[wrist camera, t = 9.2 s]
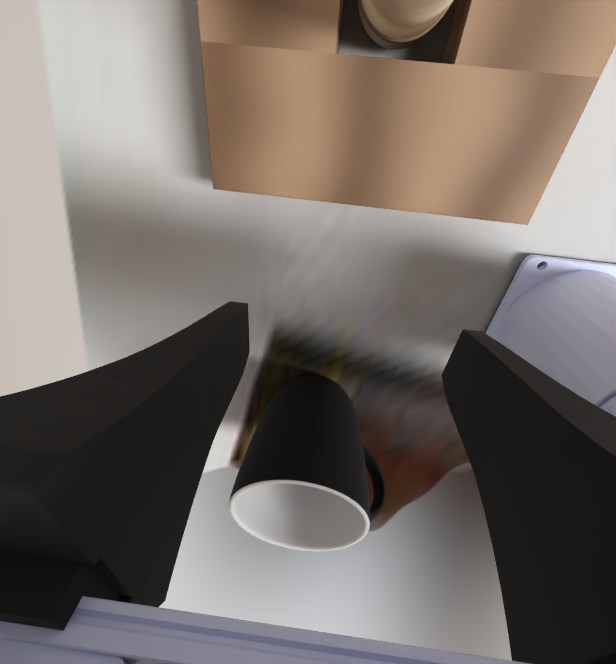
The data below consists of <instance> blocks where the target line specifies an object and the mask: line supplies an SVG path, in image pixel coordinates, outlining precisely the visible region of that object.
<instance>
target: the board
mask: <svg viewBox="0 0 616 664" xmlns="http://www.w3.org/2000/svg"><path fill="white" fill-rule="evenodd" d="M343 2H344V0H197V5H198V17H199V29H200V40H201V52H202V63H203V75H204V86H205V98H206V110H207V121H208V133H209V144H210V156H211V167H212V179H213V189H218V190H227V191H236V192H244V193H253V194H262V195H271V196H279V197H288V198H297V199H306V200H315V201H323V202H332V203H341V204H350V205H358V206H367V207H376V208H385V209H393V210H402V211H411V212H420V213H428V214H437V215H446V216H455V217H464V218H472V219H481V220H490V221H499V222H507V223H516V224H525V225H528V223H529V221H530V219H531V217H532V215H533V213H534V211H535V209H536V207H537V205H538V203H539V201H540V199H541V197H542V194H543V192H544V190H545V188H546V186H547V184H548V182H549V180H550V178H551V176H552V174H553V172H554V170H555V168H556V166H557V164H558V162H559V160H560V158H561V156H562V154H563V152H564V150H565V147H566V145H567V143H568V141H569V139H570V137H571V135H572V133H573V131H574V129H575V127H576V125H577V123H578V121H579V119H580V117H581V115H582V113H583V111H584V109H585V107H586V105H587V103H588V100H589V98H590V96H591V94H592V92H593V90H594V88H595V86H596V84H597V82H598V80H599V78H600V76H601V74H602V72H603V70H604V68H605V66H606V64H607V62H608V60H609V58H610V55H611V53H612V51H613V49H614V47H615V45H616V0H458V1H457V5H456V8H455V12H454V16H453V20H452V24H451V28H450V32H449V36H448V40H447V44H446V48H445V52H444V56H443V60H442V63H433V62H422V61H411V60H400V59H389V58H379V57H368V56H357V55H346V54H338V49H339V40H340V30H341V21H342V11H343Z"/></svg>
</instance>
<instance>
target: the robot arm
mask: <svg viewBox="0 0 616 664" xmlns="http://www.w3.org/2000/svg"><path fill="white" fill-rule="evenodd" d="M541 262H544V263H543V265H542V266H540V267H537V265H538V264H539V263H541ZM248 355H249V322H248V304H246V303H238V302H228V303H226V304H225V305H223V306H221V307H220V308H218V309H216V310H215V311H213V312H211V313H210V314H208V315H207V316H205V317H203V318H202V319H200V320H198V321H197V322H195V323H193V324H192V325H190V326H188V327H187V328H185V329H183V330H181V331H179V332H177V333H176V334H174V335H172V336H170V337H168V338H166V339H165V340H163V341H161V342H159V343H157V344H155V345H153V346H151V347H148V348H146V349H144V350H142V351H140V352H137V353H135V354H133V355H130V356H128V357H126V358H123V359H121V360H118V361H115V362H113V363H110V364H107V365H104V366H102V367H99V368H96V369H93V370H91V371H88V372H85V373H82V374H79V375H76V376H73V377H70V378H67V379H64V380H60V381H57V382H54V383H50V384H47V385H43V386H39V387H36V388H33V389H29V390H25V391H21V392H17V393H14V394H9V395H5V396H1V397H0V664H616V264H610V263H601V262H593V261H585V260H576V259H568V258H559V257H551V256H542V255H530V256H527V257H526V258H525V259H524V260H523V261H522V263H521V265H520V267H519V269H518V271H517V273H516V275H515V276H514V278H513V280H512V282H511V284H510V286H509V288H508V290H507V292H506V294H505V296H504V298H503V300H502V302H501V304H500V306H499V308H498V310H497V311H496V313H495V315H494V317H493V319H492V321H491V323H490V325H489V327H488V329H487V331H486V333H483V332H479V331H471V330H462V332H461V334H460V337H459V339H458V341H457V343H456V345H455V347H454V350H453V352H452V354H451V356H450V358H449V360H448V363H447V365H446V367H445V369H444V371H443V373H442V380H443V385H444V390H445V395H446V399H447V403H448V405H449V408H450V411H451V413H452V416H453V419H454V421H455V424H456V427H457V429H458V432H459V434H460V437H461V440H462V442H463V445H464V447H465V450H466V453H467V455H468V458H469V460H470V463H471V466H472V469H473V472H474V475H475V478H476V481H477V485H478V489H479V493H480V496H481V500H482V504H483V507H484V511H485V516H486V520H487V524H488V528H489V533H490V537H491V541H492V545H493V551H494V555H495V561H496V566H497V571H498V575H499V581H500V585H501V590H502V597H503V603H504V610H505V615H506V621H507V628H508V634H509V641H510V649H511V656H512V661H510V660H503V659H497V658H491V657H483V656H477V655H470V654H464V653H457V652H450V651H444V650H437V649H431V648H424V647H417V646H410V645H404V644H398V643H390V642H384V641H377V640H371V639H364V638H357V637H351V636H344V635H338V634H331V633H325V632H318V631H311V630H305V629H298V628H291V627H284V626H277V625H271V624H265V623H258V622H251V621H244V620H238V619H231V618H225V617H218V616H211V615H205V614H198V613H191V612H185V611H179V610H172V609H165V608H159V606H160V605H161V604H162V603H163V602H164V601H165V599H166V595H167V591H168V587H169V584H170V580H171V576H172V573H173V569H174V565H175V562H176V558H177V555H178V551H179V547H180V544H181V540H182V537H183V533H184V530H185V527H186V524H187V520H188V517H189V513H190V509H191V507H192V503H193V500H194V497H195V494H196V491H197V488H198V484H199V481H200V478H201V475H202V472H203V469H204V466H205V463H206V460H207V457H208V454H209V451H210V448H211V445H212V442H213V440H214V438H215V435H216V433H217V430H218V428H219V426H220V424H221V421H222V419H223V417H224V415H225V413H226V410H227V408H228V406H229V404H230V402H231V400H232V397H233V395H234V393H235V391H236V389H237V386H238V384H239V382H240V380H241V377H242V375H243V372H244V368H245V365H246V362H247V358H248Z"/></svg>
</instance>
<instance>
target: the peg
mask: <svg viewBox="0 0 616 664" xmlns="http://www.w3.org/2000/svg"><path fill="white" fill-rule="evenodd" d="M453 1H454V0H358V8H359V14H360V18H361V21H362V24H363V26H364V28H365V30H366V32H367V34H368V35H369V36H370V38H371V39H372V40H373V41H374V42H375V43H377V44H378V45H380V46H382V47H384V48H387V49H394V50H397V49H403V48H407V47H409V46H411V45H413V44H415V43H417V42H418V41H419V40H421V39H422V38H423V37H424V36H425V35H426V34H427V33H428V32H429V31H430V30H431V29H432V28H433V27H434V26H435V25H436V24H437V23H438V22H439V21H440V19H441V18H442V17H443V16H444V14H445V13H446V12H447V10H448V8H449V7H450V5H451V4H452V2H453Z"/></svg>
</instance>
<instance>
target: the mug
mask: <svg viewBox="0 0 616 664" xmlns="http://www.w3.org/2000/svg"><path fill="white" fill-rule="evenodd" d="M366 468H367V470H368V472H369V474H370V477H371V480H372V484H373V489H374V499H373V503H372V505H371V507H370V505H369V492H368V482H367V473H366ZM385 497H386V489H385V482H384V478H383V475H382V472H381V469H380V467H379V465H378V463H377V462H376V460H375V458H374V457H373V455H372V454H371V453H370V452H369V450H368V449H367V448H366V447H365V446H364V445H363V444H362V440H361V434H360V430H359V425H358V421H357V417H356V413H355V410H354V407H353V405H352V402H351V400H350V398H349V397H348V395H347V394H346V392H345V391H344V390H343V389H342V388H341V387H340V386H339V385H338V384H336V383H335V382H333V381H331V380H329V379H327V378H323V377H319V376H301V377H297V378H294V379H292V380H290V381H288V382H287V383H285V384H284V385H283V386H282V387H281V388H280V389H279V390H278V391H277V392H276V393H275V395H274V396H273V397H272V399H271V401H270V402H269V404H268V406H267V408H266V409H265V411H264V413H263V415H262V417H261V419H260V421H259V423H258V426H257V428H256V430H255V432H254V435H253V437H252V439H251V442H250V444H249V447H248V449H247V451H246V454H245V456H244V459H243V462H242V464H241V467H240V470H239V472H238V475H237V478H236V481H235V484H234V487H233V490H232V493H231V497H230V502H229V509H230V513H231V515H232V517H233V519H234V520H235V521H236V523H237V524H238V525H239V526H240V527H241V528H243V529H244V530H245V531H247V532H248V533H250V534H251V535H253V536H255V537H257V538H259V539H261V540H263V541H266V542H269V543H271V544H274V545H277V546H281V547H286V548H291V549H296V550H304V551H330V550H337V549H342V548H345V547H349V546H351V545H353V544H355V543H357V542H359V541H360V540H361V539H362V538H363V537H364V536H365V535H366V534H367V532H368V530H369V526H370V521H371V520H373V519H375V518H376V517H377V516H378V515H379V514H380V512H381V511H382V509H383V507H384V503H385Z"/></svg>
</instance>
